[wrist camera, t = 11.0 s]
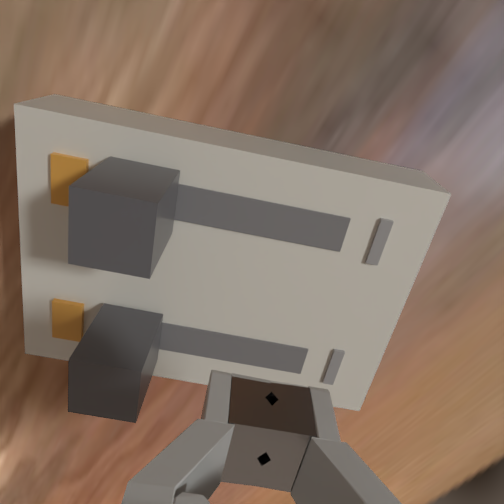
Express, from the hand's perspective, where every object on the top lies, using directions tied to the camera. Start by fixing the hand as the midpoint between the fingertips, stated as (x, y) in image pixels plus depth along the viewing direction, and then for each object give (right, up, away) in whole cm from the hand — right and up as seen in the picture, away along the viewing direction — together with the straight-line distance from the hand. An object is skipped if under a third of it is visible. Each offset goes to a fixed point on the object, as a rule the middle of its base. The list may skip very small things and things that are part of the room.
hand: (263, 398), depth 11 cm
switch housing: (-2, +4, +15) cm, 16 cm away
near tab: (-5, +6, +9) cm, 12 cm away
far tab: (-7, -1, +13) cm, 15 cm away
